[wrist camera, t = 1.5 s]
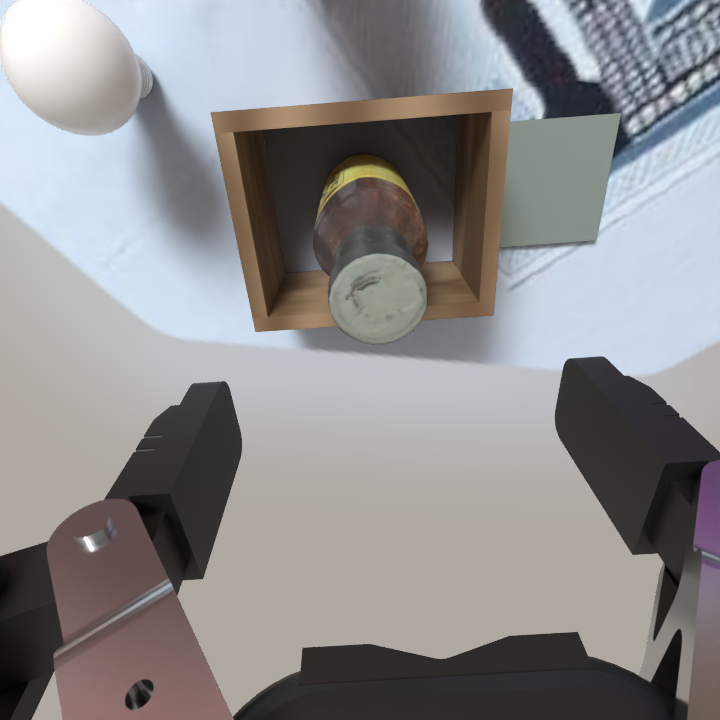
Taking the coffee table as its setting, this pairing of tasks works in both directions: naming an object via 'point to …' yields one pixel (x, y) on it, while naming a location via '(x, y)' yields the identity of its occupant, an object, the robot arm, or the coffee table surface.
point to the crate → (443, 279)
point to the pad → (556, 179)
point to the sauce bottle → (371, 250)
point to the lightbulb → (72, 65)
